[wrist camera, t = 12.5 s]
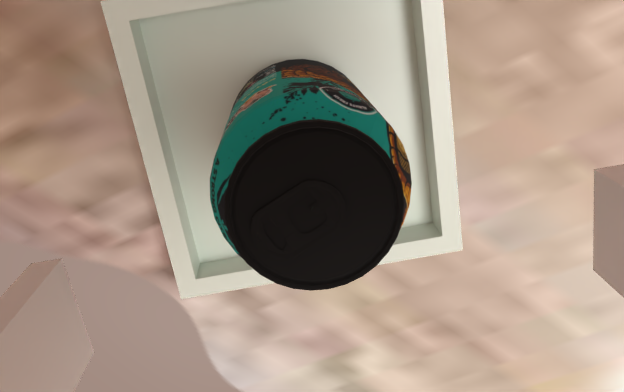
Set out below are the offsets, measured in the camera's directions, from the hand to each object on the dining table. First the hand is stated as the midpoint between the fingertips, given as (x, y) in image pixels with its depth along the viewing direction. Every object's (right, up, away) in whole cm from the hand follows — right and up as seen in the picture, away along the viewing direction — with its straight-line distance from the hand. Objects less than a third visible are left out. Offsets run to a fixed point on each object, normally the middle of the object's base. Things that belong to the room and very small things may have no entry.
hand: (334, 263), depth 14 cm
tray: (-1, +5, +16) cm, 17 cm away
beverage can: (-1, +5, +16) cm, 16 cm away
